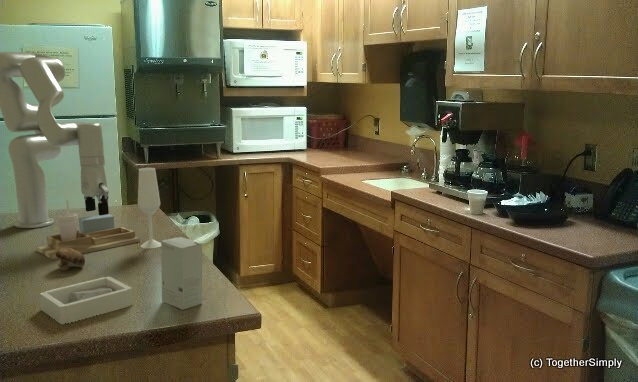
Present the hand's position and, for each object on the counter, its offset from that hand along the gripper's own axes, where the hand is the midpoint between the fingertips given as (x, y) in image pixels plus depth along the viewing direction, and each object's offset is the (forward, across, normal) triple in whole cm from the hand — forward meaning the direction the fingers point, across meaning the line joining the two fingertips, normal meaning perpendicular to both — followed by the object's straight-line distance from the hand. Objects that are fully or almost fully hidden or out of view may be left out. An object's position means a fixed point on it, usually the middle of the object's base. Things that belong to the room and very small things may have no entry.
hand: (97, 212), depth 202 cm
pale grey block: (+7, -1, 0) cm, 8 cm away
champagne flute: (+8, +24, +6) cm, 26 cm away
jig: (+8, +11, -8) cm, 16 cm away
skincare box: (+9, +73, -13) cm, 75 cm away
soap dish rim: (+9, +60, -30) cm, 68 cm away
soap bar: (+9, +59, -28) cm, 66 cm away
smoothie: (+6, +11, -14) cm, 19 cm away
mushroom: (+8, +29, -21) cm, 37 cm away
